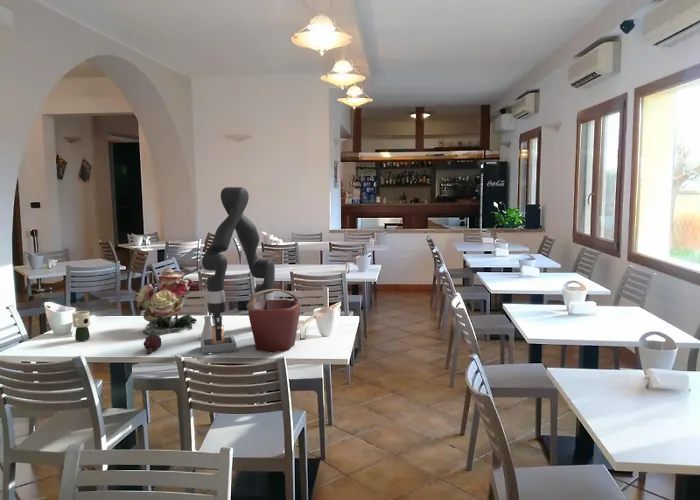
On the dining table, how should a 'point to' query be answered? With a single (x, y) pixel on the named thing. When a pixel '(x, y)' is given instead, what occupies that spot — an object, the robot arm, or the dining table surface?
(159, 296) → the rose bouquet
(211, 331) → the terracotta cup
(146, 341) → the icecream
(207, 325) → the flask
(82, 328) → the character mug
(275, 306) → the bucket
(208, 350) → the slate tray
